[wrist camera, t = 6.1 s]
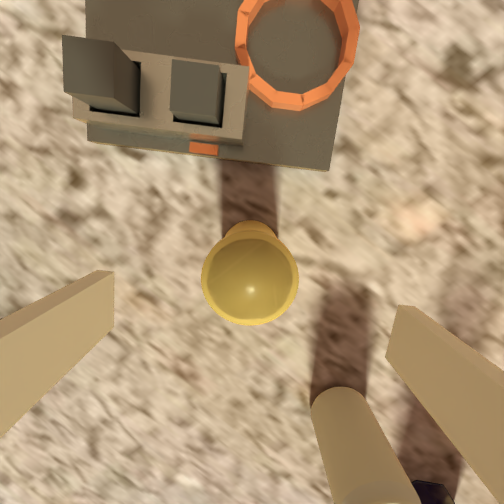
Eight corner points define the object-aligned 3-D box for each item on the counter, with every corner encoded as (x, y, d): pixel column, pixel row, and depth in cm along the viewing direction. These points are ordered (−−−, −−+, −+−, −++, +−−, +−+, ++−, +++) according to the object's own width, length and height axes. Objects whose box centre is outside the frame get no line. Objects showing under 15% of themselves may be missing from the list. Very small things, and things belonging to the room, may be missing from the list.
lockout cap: (216, 274, 28) (197, 320, 18) (222, 212, 26) (205, 226, 17) (277, 280, 28) (291, 330, 18) (286, 220, 26) (306, 238, 17)
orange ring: (231, 102, 23) (230, 96, 21) (243, -29, 21) (242, -45, 19) (339, 116, 23) (345, 111, 22) (361, -12, 21) (369, -27, 20)
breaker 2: (185, 125, 22) (169, 110, 18) (187, 85, 22) (171, 59, 17) (222, 130, 22) (215, 116, 18) (225, 90, 22) (219, 65, 17)
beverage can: (299, 397, 31) (327, 524, 19) (350, 372, 30) (411, 487, 19) (325, 437, 32) (366, 579, 20) (374, 414, 31) (447, 546, 20)
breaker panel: (97, 143, 25) (59, 132, 20) (96, -27, 22) (51, -89, 17) (324, 171, 25) (341, 167, 21) (352, 9, 23) (379, -41, 18)
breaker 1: (103, 112, 21) (63, 91, 17) (103, 68, 20) (62, 34, 16) (142, 117, 21) (113, 98, 17) (143, 73, 20) (114, 42, 16)
